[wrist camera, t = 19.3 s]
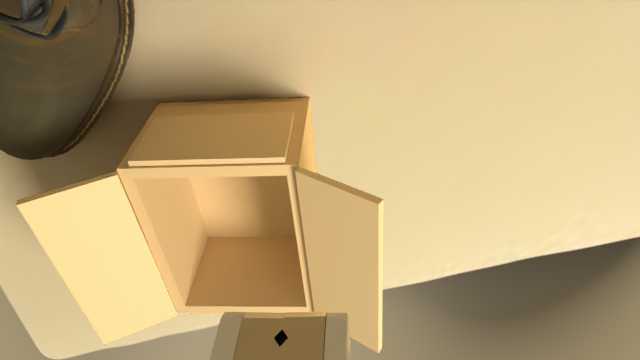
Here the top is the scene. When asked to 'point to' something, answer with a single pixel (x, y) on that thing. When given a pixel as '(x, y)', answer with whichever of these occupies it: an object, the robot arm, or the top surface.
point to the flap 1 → (101, 254)
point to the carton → (225, 202)
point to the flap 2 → (344, 252)
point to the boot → (58, 70)
